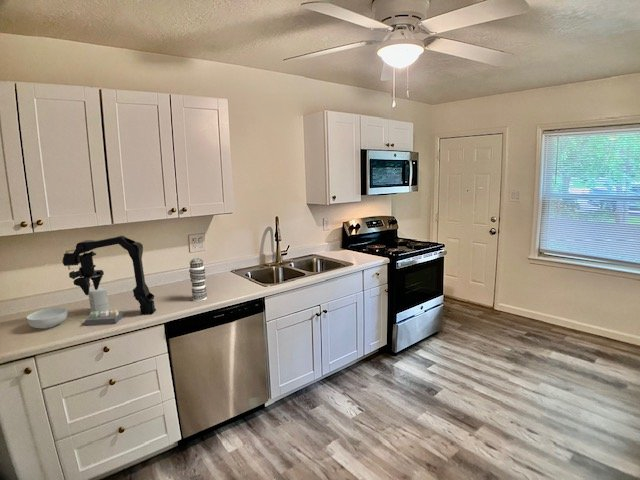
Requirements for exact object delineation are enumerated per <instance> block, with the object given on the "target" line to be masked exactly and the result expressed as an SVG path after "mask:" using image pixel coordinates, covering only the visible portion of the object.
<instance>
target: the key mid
mask: <svg viewBox="0 0 640 480" xmlns="http://www.w3.org/2000/svg"><path fill="white" fill-rule="evenodd" d="M109 312H110V310H109V311H102V312H101V313H100V317H107V316H108V315H109Z"/></svg>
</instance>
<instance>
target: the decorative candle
mask: <svg viewBox="0 0 640 480" xmlns="http://www.w3.org/2000/svg"><path fill="white" fill-rule="evenodd" d="M188 270H189V271H188V272H189V278H190V282H191V295H192V301H194V302H202V300H203V301H205V300H207V299H208V292H207V286H206V269H205V267H204V260H202V259H201V258H199V257H197V258H192V259H191V260H190V261H189V269H188Z"/></svg>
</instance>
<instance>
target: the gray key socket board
mask: <svg viewBox="0 0 640 480" xmlns="http://www.w3.org/2000/svg"><path fill="white" fill-rule="evenodd" d="M110 312H111V311H109V315H108V316H107V317H100V313H99V316H98V317H95V318H90V316H88V317H87V318H86V319H85V320H84V325H85V326H86V327H87V326H102V325H117V323H119V322H118V321H119V320H123V318H124V317H125V312H124V310H121V311H120V310H118V312H119V314H118V315H117V316H110Z"/></svg>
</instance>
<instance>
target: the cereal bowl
mask: <svg viewBox="0 0 640 480" xmlns="http://www.w3.org/2000/svg"><path fill="white" fill-rule="evenodd" d="M68 313H69V312H68V308H66V307H60V306H56V307H49V308H44V309H40V310H37V311H33V312H32V313H30V314H28V315H27V316H26V321H27V324H28V325H29V326H30V327H32V328H35V329H42V330H43V329H44V330H47V329H53V328H54V327H57V326H59V325H60V324H62V323H63V322H65V321H66V319H67V318H68Z"/></svg>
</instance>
